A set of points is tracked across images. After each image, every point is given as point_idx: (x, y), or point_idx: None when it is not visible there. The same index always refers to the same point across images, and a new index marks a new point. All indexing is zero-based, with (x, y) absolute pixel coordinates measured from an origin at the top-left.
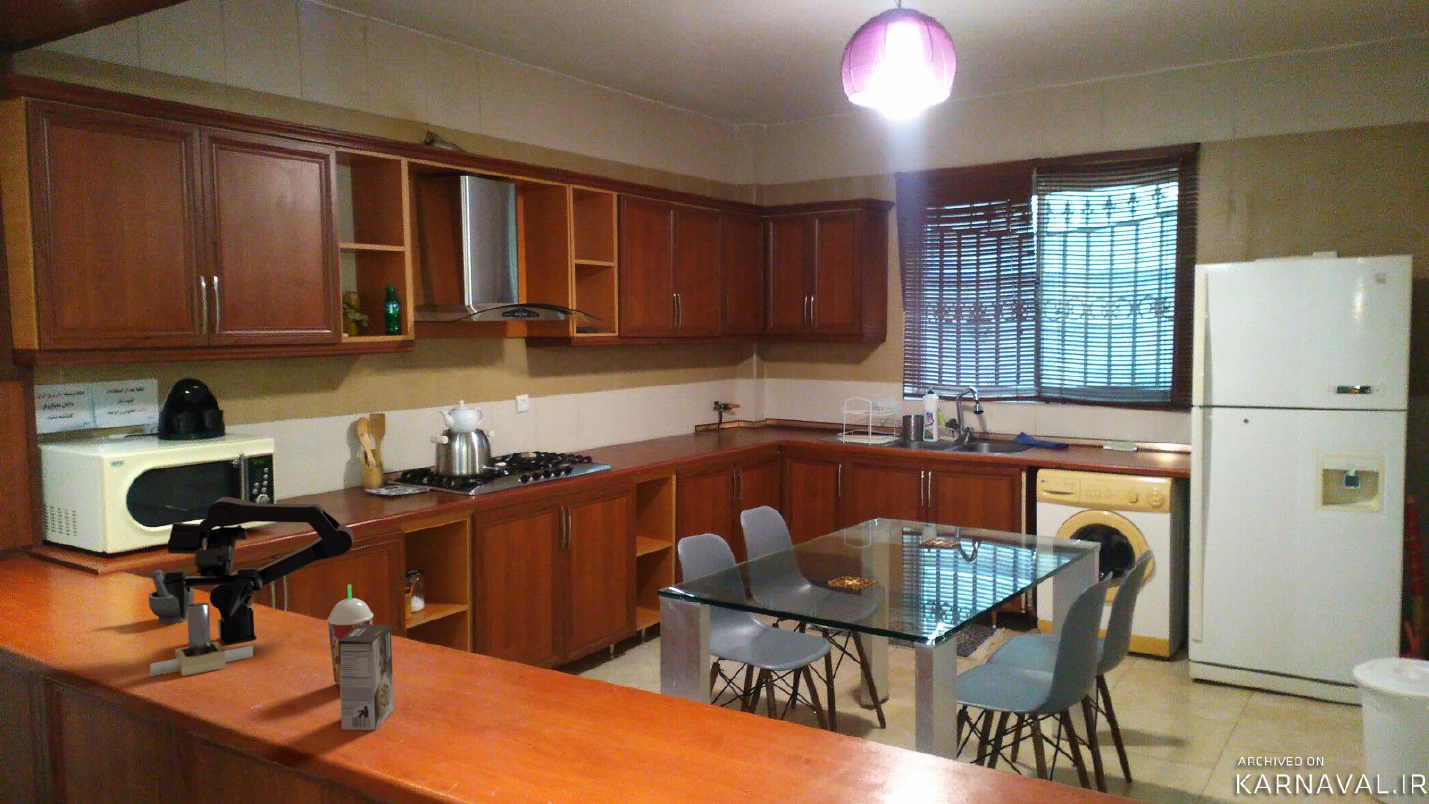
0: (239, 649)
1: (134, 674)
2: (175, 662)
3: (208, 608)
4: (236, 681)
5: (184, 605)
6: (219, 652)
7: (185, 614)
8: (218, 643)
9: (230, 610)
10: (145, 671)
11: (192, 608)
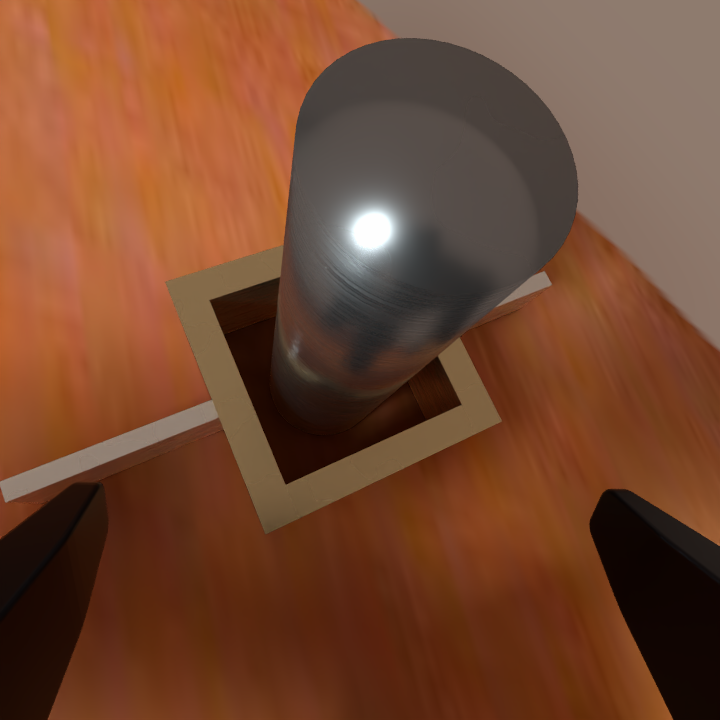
0: (100, 445)
1: (600, 355)
2: None
3: (291, 177)
4: (92, 111)
5: (709, 598)
6: (198, 271)
7: (613, 575)
8: (246, 476)
9: (61, 500)
10: (571, 385)
11: (464, 51)
